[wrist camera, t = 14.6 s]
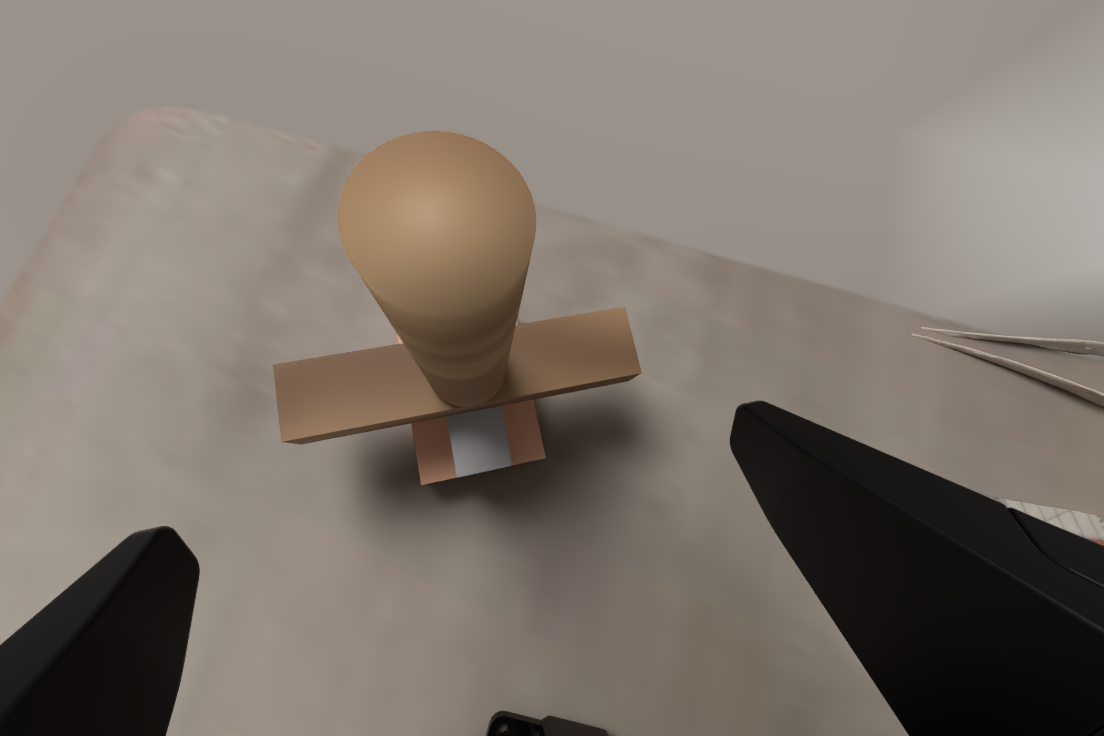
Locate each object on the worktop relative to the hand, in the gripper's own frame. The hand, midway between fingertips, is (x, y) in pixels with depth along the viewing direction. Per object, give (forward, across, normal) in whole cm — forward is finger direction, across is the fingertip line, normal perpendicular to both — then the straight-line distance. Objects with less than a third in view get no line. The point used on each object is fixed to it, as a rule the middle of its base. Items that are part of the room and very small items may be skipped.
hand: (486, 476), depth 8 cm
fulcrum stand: (+12, 0, +7) cm, 14 cm away
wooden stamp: (+9, 0, +4) cm, 10 cm away
